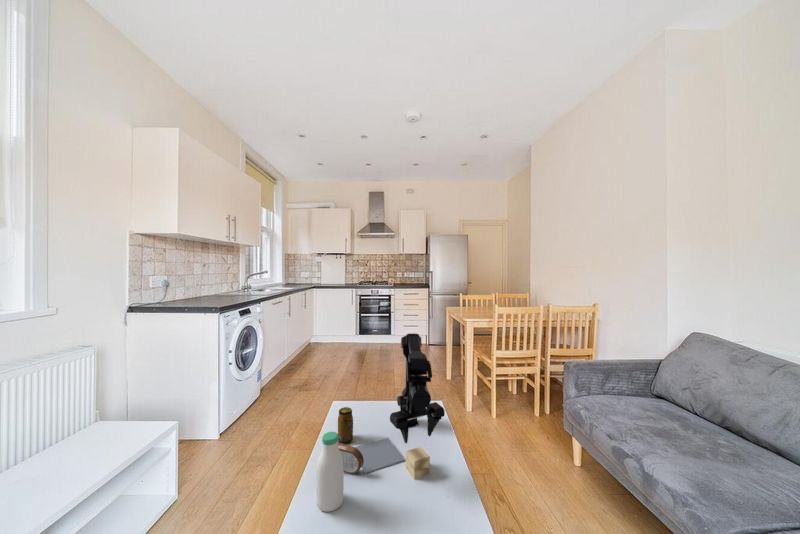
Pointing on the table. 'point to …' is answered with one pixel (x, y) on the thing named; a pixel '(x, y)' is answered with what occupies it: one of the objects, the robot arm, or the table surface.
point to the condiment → (346, 427)
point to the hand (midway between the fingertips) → (417, 439)
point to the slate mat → (379, 455)
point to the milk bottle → (330, 474)
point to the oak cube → (417, 462)
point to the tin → (351, 458)
